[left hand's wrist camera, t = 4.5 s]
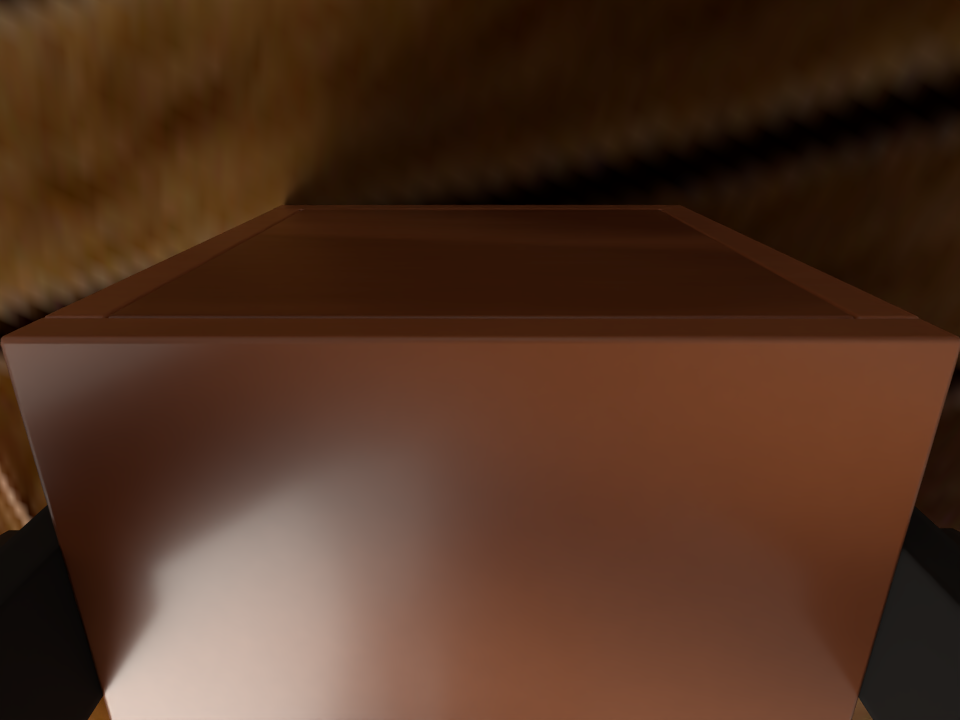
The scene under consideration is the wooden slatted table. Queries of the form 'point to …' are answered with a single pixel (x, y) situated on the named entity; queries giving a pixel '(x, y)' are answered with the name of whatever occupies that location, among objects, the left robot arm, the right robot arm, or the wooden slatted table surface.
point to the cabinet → (481, 468)
